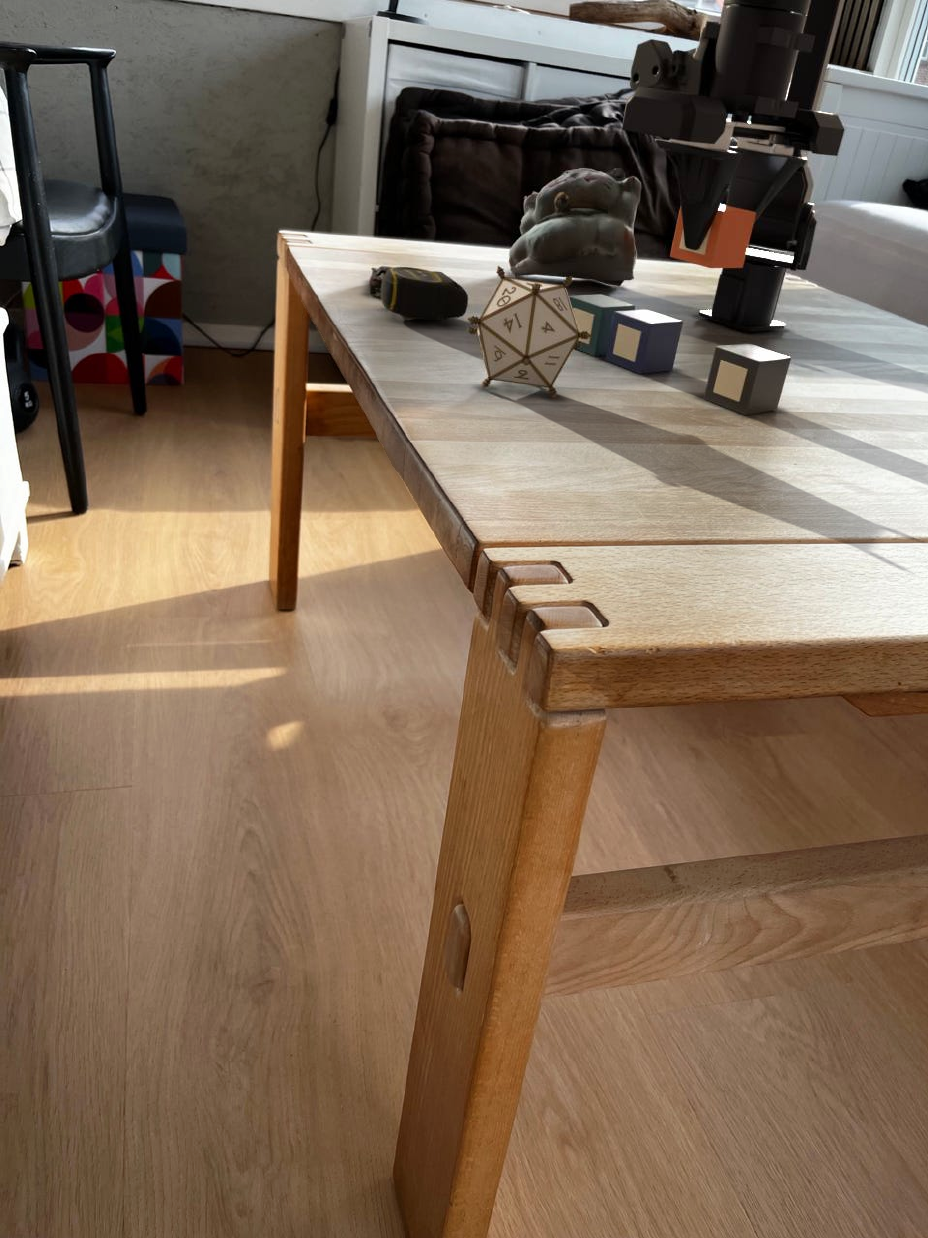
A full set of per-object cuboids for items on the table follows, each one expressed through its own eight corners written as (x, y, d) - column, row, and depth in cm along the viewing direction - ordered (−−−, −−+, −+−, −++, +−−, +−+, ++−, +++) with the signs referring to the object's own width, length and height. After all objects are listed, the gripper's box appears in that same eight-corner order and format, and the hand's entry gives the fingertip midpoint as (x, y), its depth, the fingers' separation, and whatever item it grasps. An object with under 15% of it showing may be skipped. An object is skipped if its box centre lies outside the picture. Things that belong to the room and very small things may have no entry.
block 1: (593, 340, 90) (601, 293, 88) (626, 352, 87) (635, 305, 86) (560, 343, 88) (568, 295, 86) (593, 356, 85) (602, 307, 83)
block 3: (734, 393, 80) (748, 342, 78) (777, 409, 77) (791, 357, 76) (702, 398, 78) (714, 346, 76) (744, 415, 75) (758, 361, 73)
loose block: (702, 256, 81) (714, 202, 79) (742, 267, 78) (756, 212, 76) (668, 256, 78) (680, 200, 76) (709, 268, 76) (723, 210, 74)
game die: (522, 446, 74) (542, 359, 65) (435, 377, 76) (443, 283, 67) (598, 374, 77) (628, 282, 68) (513, 310, 79) (531, 211, 70)
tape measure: (467, 329, 88) (472, 285, 86) (389, 325, 85) (394, 279, 84) (444, 310, 93) (449, 267, 91) (370, 305, 91) (374, 262, 89)
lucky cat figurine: (482, 272, 111) (496, 145, 111) (536, 308, 121) (549, 191, 121) (608, 258, 102) (623, 120, 102) (655, 298, 112) (669, 172, 112)
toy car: (371, 280, 101) (373, 257, 100) (406, 284, 101) (408, 261, 100) (367, 297, 94) (369, 273, 93) (404, 301, 94) (407, 278, 93)
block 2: (636, 356, 87) (646, 308, 85) (672, 370, 84) (683, 321, 82) (603, 360, 84) (613, 311, 82) (639, 374, 82) (650, 324, 80)
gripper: (750, 21, 81) (704, 229, 88) (586, -15, 70) (549, 226, 77) (875, 31, 74) (813, 256, 81) (715, -7, 63) (660, 258, 70)
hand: (709, 248), depth 78 cm, fingers closed on loose block, 4 cm apart
